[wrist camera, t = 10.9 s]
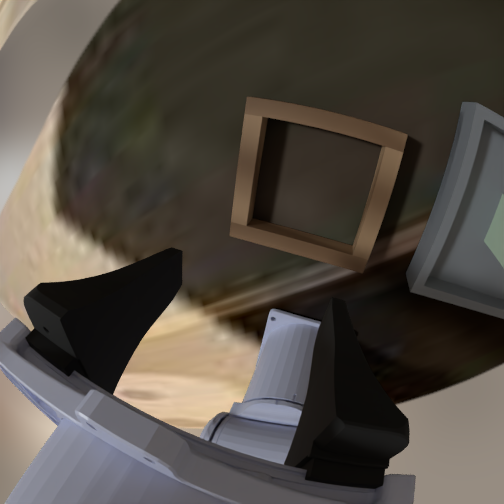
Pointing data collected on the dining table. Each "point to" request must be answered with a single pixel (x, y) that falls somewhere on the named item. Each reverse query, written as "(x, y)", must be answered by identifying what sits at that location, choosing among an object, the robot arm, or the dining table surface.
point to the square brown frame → (295, 239)
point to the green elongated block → (497, 233)
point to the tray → (465, 220)
